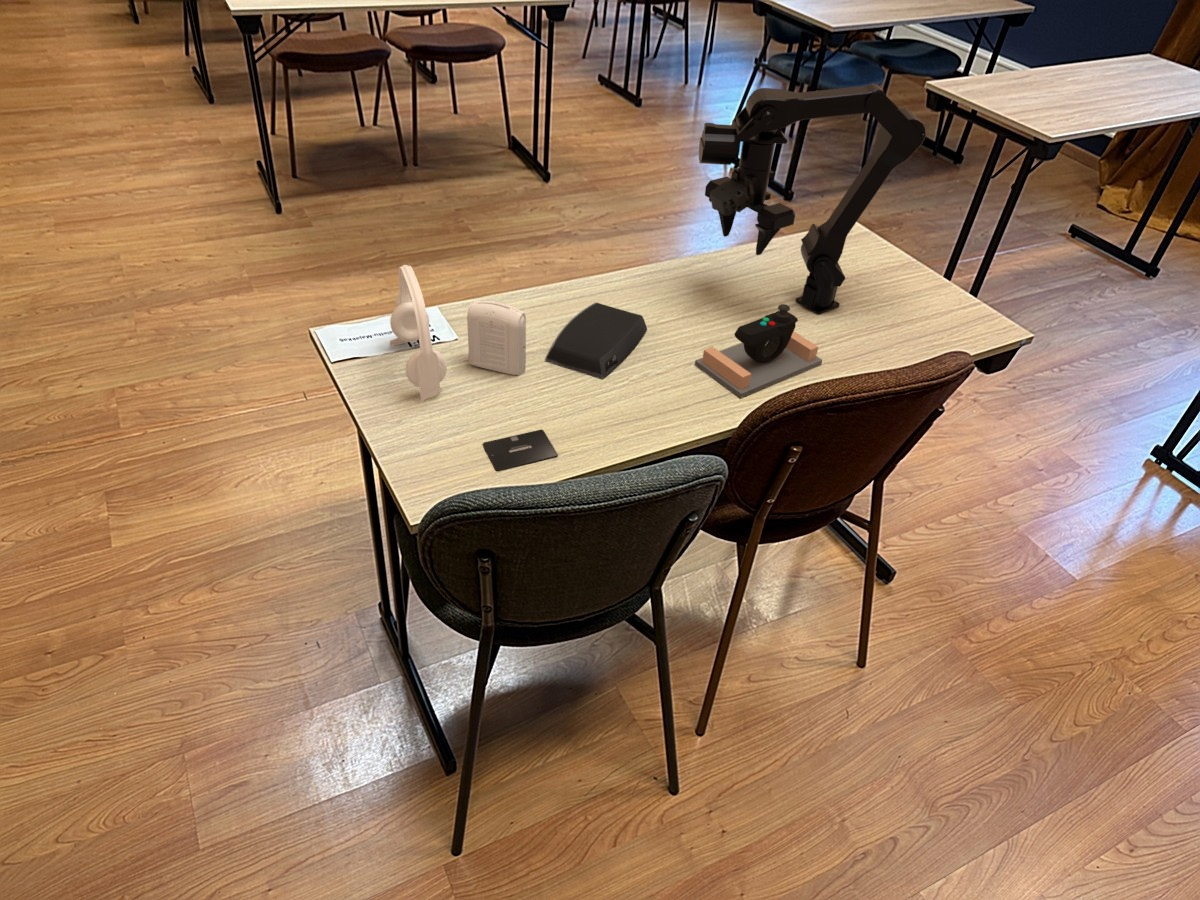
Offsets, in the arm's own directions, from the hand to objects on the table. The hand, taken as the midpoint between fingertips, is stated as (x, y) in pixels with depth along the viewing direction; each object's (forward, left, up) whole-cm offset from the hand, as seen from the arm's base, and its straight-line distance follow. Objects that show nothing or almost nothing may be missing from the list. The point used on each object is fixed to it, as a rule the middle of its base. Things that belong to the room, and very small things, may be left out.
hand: (741, 245), depth 161 cm
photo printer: (+52, -4, -12) cm, 54 cm away
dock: (+12, +20, -12) cm, 26 cm away
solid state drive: (+61, +18, -13) cm, 65 cm away
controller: (+12, +20, -11) cm, 26 cm away
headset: (+64, -10, -12) cm, 66 cm away
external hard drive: (+33, -1, -13) cm, 35 cm away
